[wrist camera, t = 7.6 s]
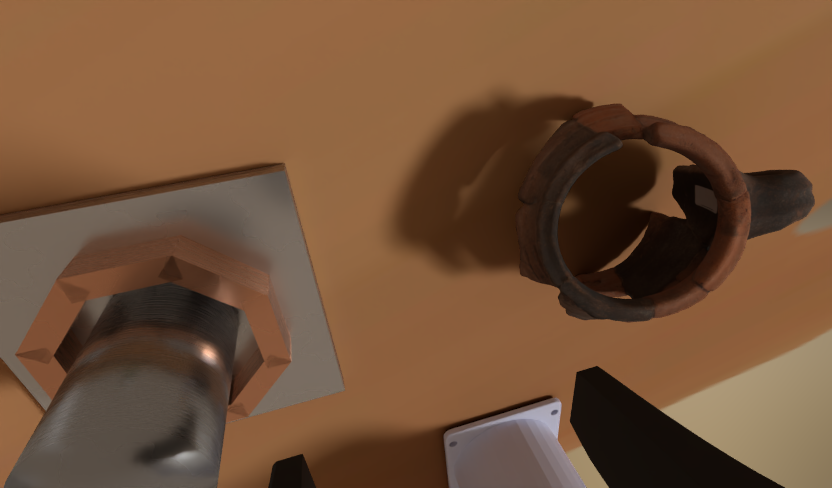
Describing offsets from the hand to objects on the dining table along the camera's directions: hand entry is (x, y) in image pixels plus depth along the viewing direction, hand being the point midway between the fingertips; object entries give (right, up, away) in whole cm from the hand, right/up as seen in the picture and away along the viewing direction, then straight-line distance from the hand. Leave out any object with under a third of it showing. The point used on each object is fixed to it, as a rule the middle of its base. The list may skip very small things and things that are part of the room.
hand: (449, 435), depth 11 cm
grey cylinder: (-11, +1, +7) cm, 13 cm away
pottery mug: (+8, +8, +10) cm, 15 cm away
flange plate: (-11, +2, +8) cm, 13 cm away
